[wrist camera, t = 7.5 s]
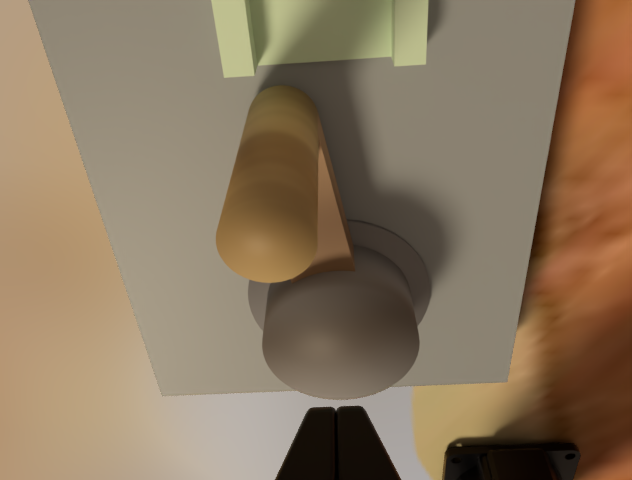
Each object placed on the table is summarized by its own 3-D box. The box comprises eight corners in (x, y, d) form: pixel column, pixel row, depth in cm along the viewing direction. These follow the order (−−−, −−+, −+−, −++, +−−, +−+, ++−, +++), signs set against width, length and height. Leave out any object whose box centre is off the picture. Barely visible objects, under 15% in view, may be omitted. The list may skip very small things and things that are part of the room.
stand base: (495, 345, 25) (514, 402, 22) (172, 359, 25) (156, 416, 23) (559, -78, 15) (604, -61, 13) (50, -39, 16) (2, -16, 14)
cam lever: (420, 339, 21) (450, 492, 16) (289, 362, 22) (280, 514, 17) (363, 64, 15) (383, 172, 10) (187, 107, 16) (128, 227, 11)
